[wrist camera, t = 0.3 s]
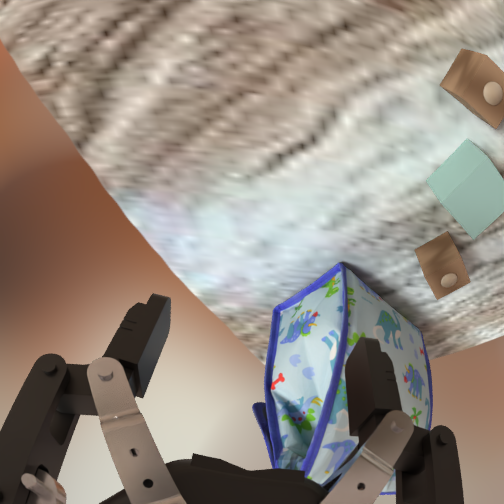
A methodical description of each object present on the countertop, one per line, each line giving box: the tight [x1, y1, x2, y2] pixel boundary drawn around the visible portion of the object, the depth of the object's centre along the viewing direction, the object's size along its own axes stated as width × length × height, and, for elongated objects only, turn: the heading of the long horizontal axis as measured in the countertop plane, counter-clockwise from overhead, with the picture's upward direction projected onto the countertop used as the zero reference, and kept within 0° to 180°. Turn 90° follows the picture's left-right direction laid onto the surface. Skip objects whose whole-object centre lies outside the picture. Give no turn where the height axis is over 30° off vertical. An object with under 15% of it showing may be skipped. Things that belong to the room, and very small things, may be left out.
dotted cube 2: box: [440, 49, 504, 129], centre depth 21 cm, size 5×5×5 cm
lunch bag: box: [252, 263, 433, 495], centre depth 37 cm, size 22×17×26 cm
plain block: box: [426, 139, 504, 240], centre depth 28 cm, size 7×7×5 cm
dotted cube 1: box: [415, 231, 470, 300], centre depth 35 cm, size 5×5×5 cm
